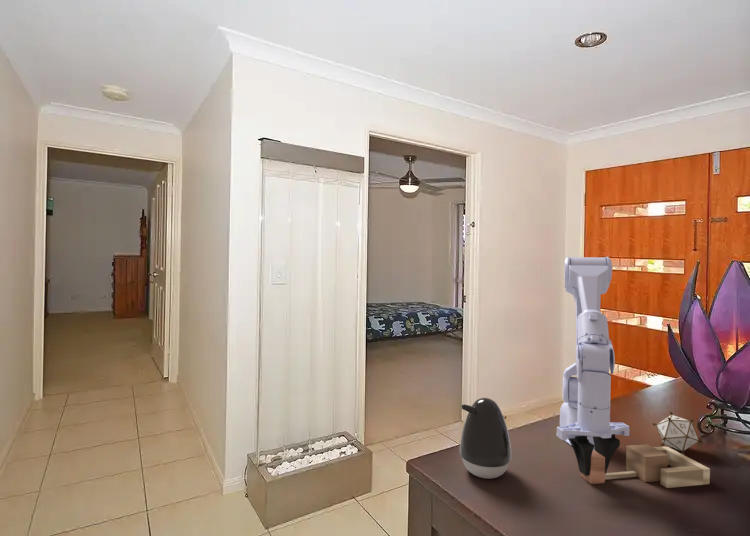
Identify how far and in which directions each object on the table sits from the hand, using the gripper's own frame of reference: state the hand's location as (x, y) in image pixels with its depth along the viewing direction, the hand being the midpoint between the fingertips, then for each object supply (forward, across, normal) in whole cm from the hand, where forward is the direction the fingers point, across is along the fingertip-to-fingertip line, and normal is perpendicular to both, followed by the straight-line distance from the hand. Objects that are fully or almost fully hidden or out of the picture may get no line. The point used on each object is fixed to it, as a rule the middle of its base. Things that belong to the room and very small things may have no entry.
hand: (592, 472), depth 84 cm
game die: (+2, +28, +9) cm, 30 cm away
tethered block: (+1, +7, 0) cm, 7 cm away
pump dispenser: (+2, -20, +6) cm, 21 cm away
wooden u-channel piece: (+1, +16, 0) cm, 16 cm away
